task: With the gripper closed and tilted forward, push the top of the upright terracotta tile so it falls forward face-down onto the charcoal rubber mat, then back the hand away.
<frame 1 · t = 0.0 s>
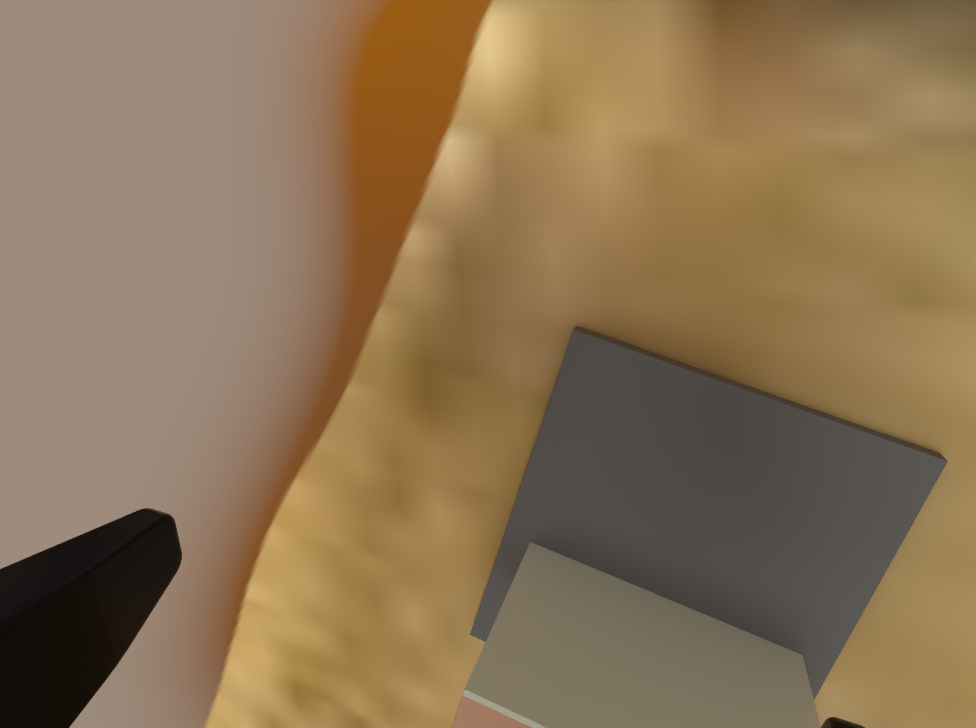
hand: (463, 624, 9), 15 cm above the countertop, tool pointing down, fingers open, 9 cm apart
mat: (677, 550, 24), on the countertop
tile: (651, 618, 25), point 1 cm above the countertop, touching mat
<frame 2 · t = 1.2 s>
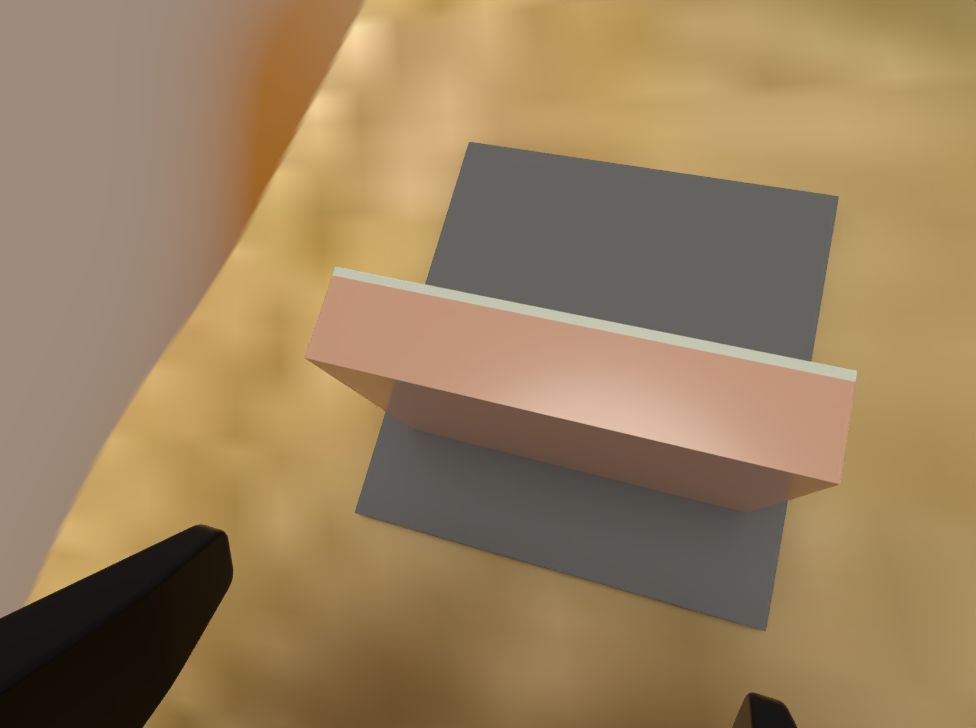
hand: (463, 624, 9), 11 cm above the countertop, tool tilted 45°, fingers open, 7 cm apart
mat: (597, 359, 21), on the countertop
tile: (577, 436, 20), point 1 cm above the countertop, touching mat
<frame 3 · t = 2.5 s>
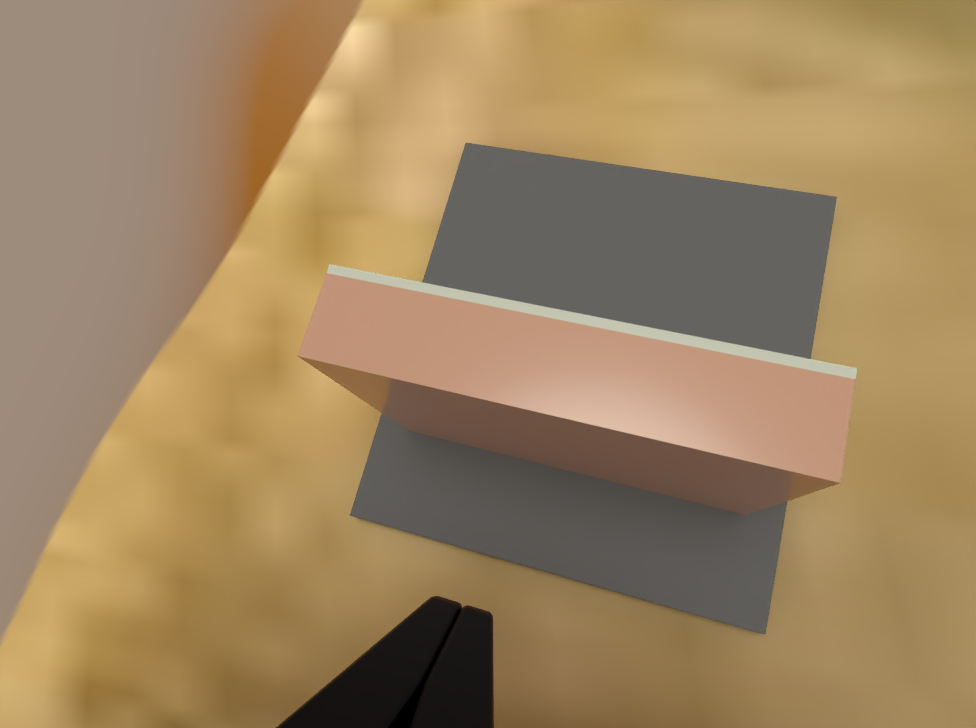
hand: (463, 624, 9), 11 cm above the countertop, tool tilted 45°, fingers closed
mat: (595, 360, 21), on the countertop
tile: (575, 437, 20), point 1 cm above the countertop, touching mat
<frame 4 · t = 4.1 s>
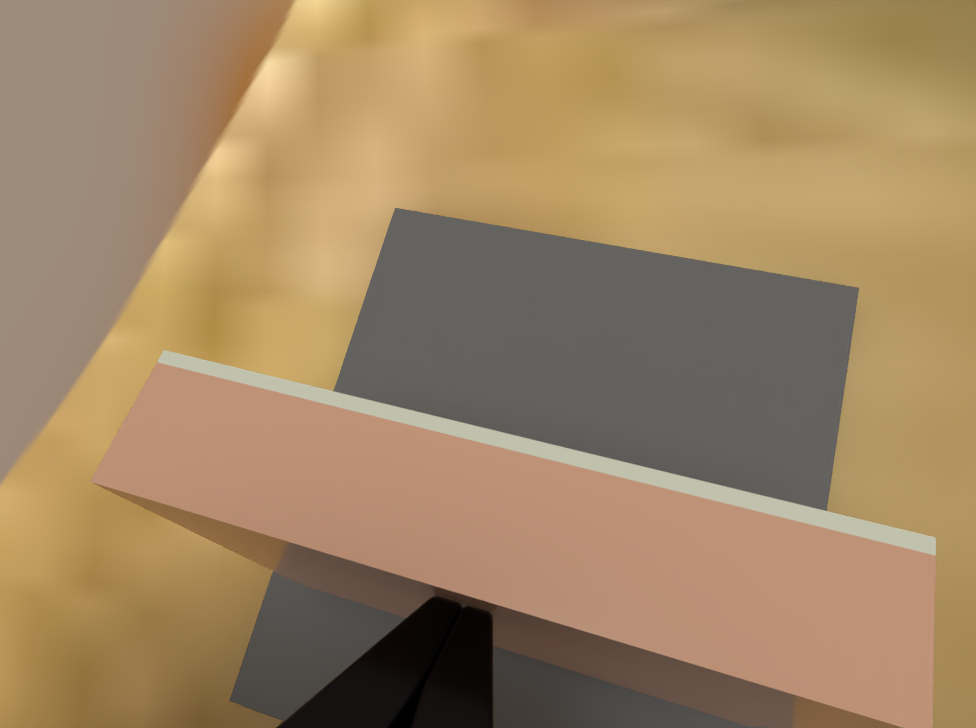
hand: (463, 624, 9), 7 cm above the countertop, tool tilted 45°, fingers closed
mat: (550, 494, 17), on the countertop
tile: (520, 604, 15), point 1 cm above the countertop, tilted 11°, touching mat
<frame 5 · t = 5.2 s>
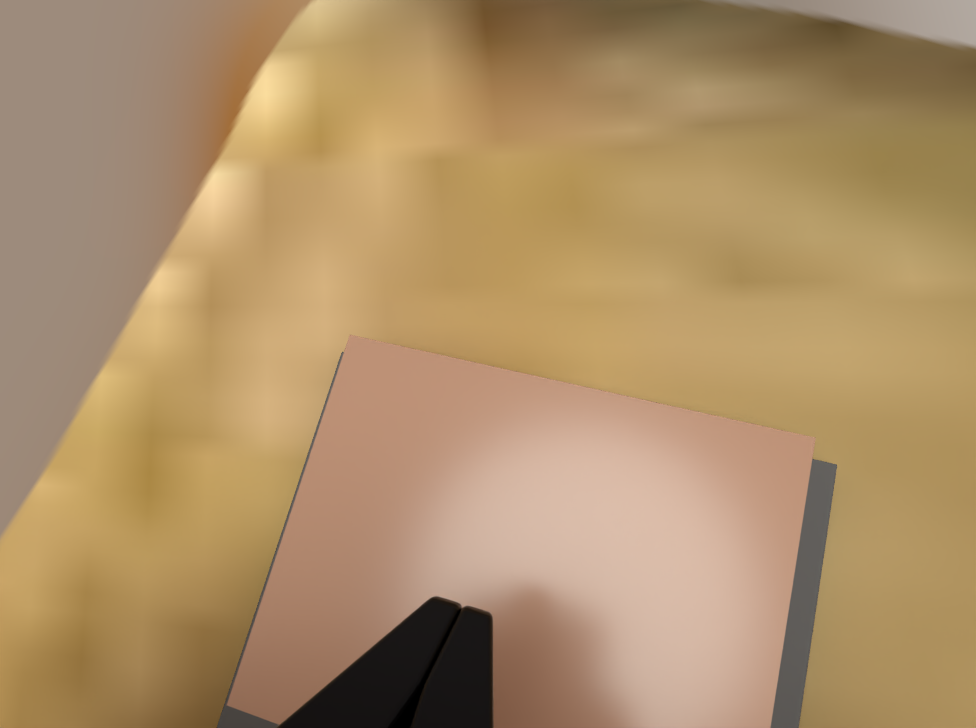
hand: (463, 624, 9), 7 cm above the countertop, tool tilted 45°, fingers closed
mat: (502, 684, 15), on the countertop
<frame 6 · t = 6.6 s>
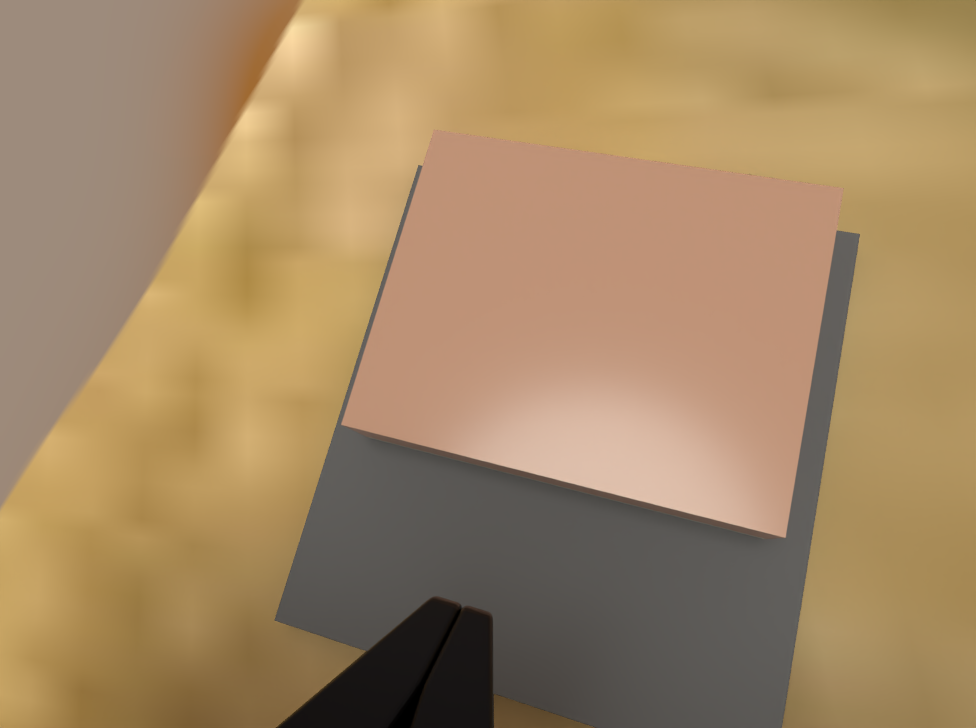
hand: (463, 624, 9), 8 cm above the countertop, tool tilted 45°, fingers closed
mat: (568, 430, 18), on the countertop
tile: (550, 481, 16), point 2 cm above the countertop, tilted 90°, touching mat
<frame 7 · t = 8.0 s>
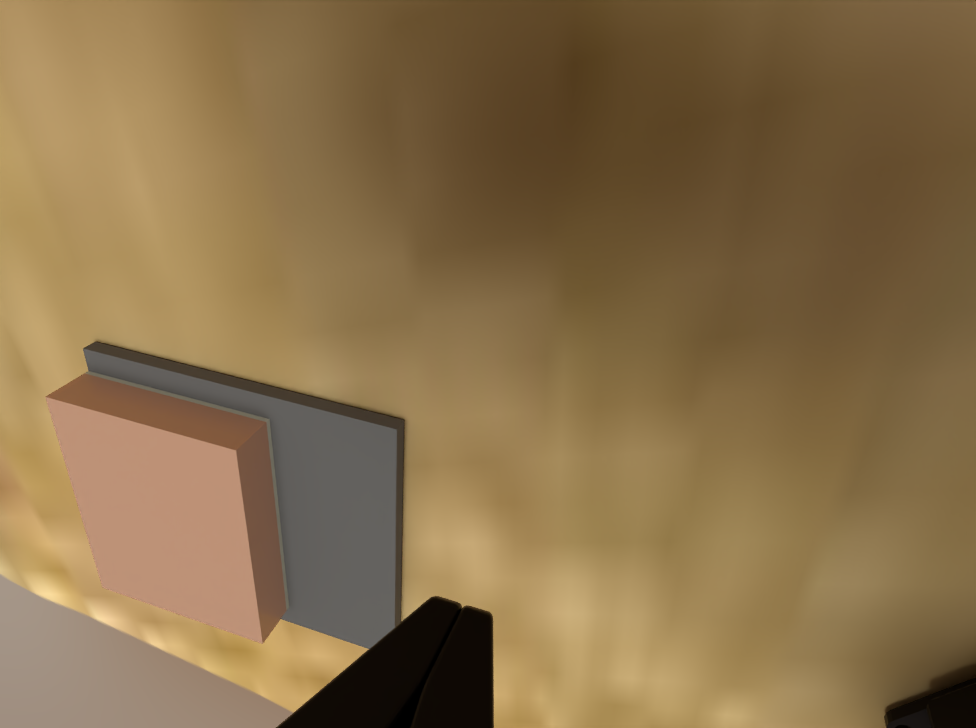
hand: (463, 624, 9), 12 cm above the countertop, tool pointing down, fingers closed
mat: (256, 502, 28), on the countertop
tile: (265, 538, 26), point 2 cm above the countertop, tilted 90°, touching mat
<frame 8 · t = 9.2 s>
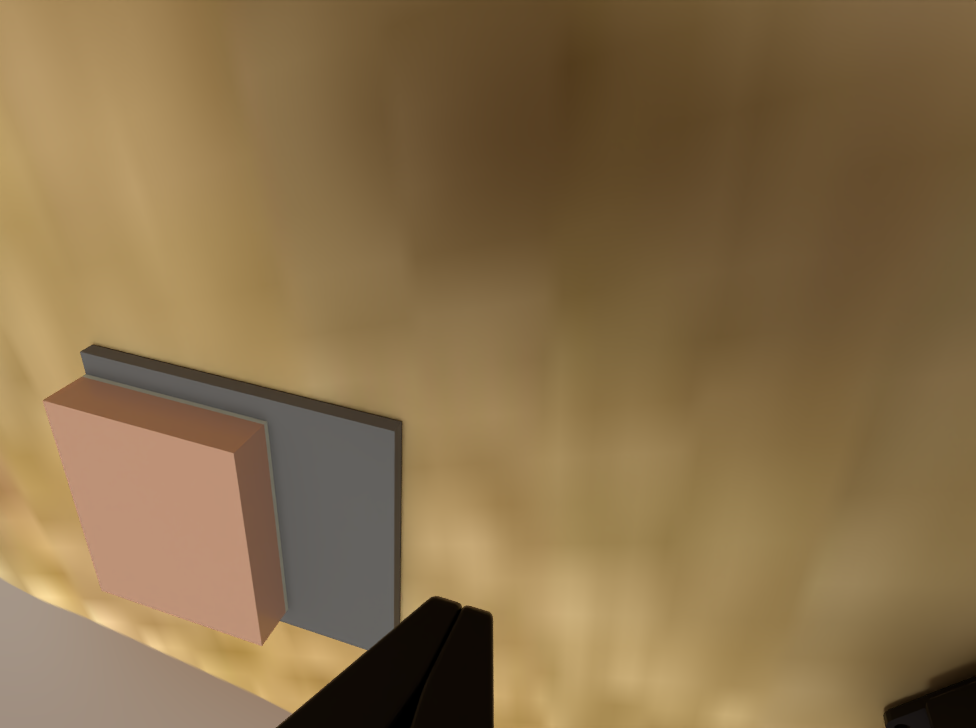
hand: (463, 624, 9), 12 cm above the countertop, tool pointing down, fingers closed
mat: (254, 504, 28), on the countertop
tile: (264, 541, 26), point 2 cm above the countertop, tilted 90°, touching mat
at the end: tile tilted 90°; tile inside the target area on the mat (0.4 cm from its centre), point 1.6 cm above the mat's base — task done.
